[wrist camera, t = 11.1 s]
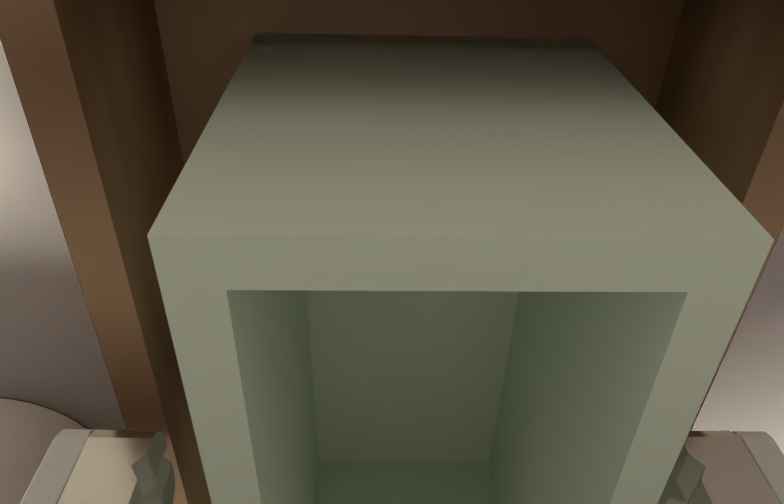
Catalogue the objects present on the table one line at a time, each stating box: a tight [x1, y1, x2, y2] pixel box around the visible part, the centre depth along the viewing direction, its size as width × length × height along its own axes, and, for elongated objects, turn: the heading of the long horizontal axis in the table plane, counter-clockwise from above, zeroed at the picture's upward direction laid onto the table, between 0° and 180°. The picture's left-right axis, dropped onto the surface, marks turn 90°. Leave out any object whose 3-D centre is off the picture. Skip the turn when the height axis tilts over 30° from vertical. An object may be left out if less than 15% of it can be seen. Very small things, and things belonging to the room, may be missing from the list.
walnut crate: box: [0, 0, 784, 504], centre depth 13 cm, size 15×10×4 cm, turn 178°
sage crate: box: [147, 33, 774, 504], centre depth 11 cm, size 11×6×6 cm, turn 179°
